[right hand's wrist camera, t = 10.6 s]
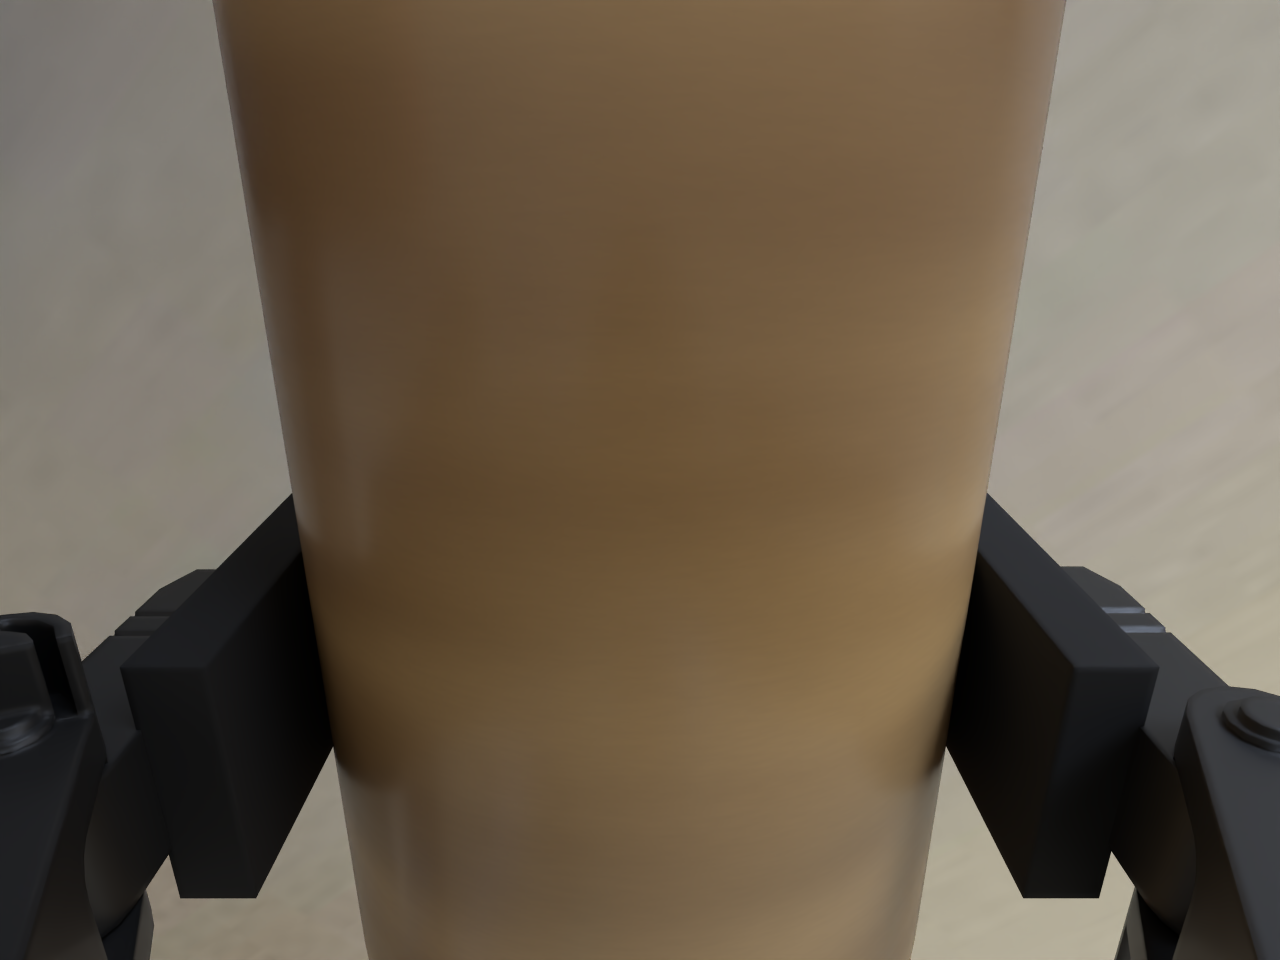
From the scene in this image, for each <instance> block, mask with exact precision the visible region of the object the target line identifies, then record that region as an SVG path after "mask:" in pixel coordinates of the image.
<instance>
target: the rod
mask: <svg viewBox="0 0 1280 960" xmlns="http://www.w3.org/2000/svg"><path fill="white" fill-rule="evenodd" d="M1065 5H1066V0H213V6H214V12H215V19H216V25H217V31H218V37H219V43H220V50H221V56H222V62H223V68H224V74H225V80H226V87H227V93H228V99H229V105H230V111H231V117H232V124H233V130H234V136H235V142H236V148H237V154H238V161H239V167H240V173H241V179H242V185H243V191H244V198H245V204H246V210H247V216H248V222H249V229H250V235H251V241H252V247H253V253H254V259H255V266H256V272H257V278H258V284H259V290H260V296H261V303H262V309H263V315H264V321H265V327H266V333H267V340H268V346H269V352H270V358H271V364H272V371H273V377H274V383H275V389H276V395H277V401H278V408H279V414H280V420H281V426H282V432H283V438H284V445H285V451H286V457H287V463H288V469H289V475H290V482H291V488H292V494H293V500H294V506H295V513H296V519H297V525H298V531H299V537H300V543H301V550H302V556H303V562H304V568H305V574H306V580H307V587H308V593H309V599H310V605H311V611H312V617H313V624H314V630H315V636H316V642H317V648H318V655H319V661H320V667H321V673H322V679H323V685H324V692H325V698H326V704H327V710H328V716H329V722H330V729H331V735H332V741H333V747H334V753H335V759H336V766H337V772H338V778H339V784H340V790H341V797H342V803H343V809H344V815H345V821H346V827H347V834H348V840H349V846H350V852H351V858H352V864H353V871H354V877H355V883H356V889H357V895H358V901H359V908H360V914H361V920H362V926H363V932H364V938H365V943H366V948H367V952H368V957H369V960H910V958H911V953H912V949H913V945H914V940H915V934H916V928H917V921H918V915H919V909H920V903H921V897H922V890H923V884H924V878H925V872H926V866H927V859H928V853H929V847H930V841H931V835H932V829H933V822H934V816H935V810H936V804H937V798H938V791H939V785H940V779H941V773H942V767H943V760H944V754H945V748H946V742H947V736H948V729H949V723H950V717H951V711H952V705H953V698H954V692H955V686H956V680H957V674H958V667H959V661H960V655H961V649H962V643H963V637H964V630H965V624H966V618H967V612H968V606H969V599H970V593H971V587H972V581H973V575H974V568H975V562H976V556H977V550H978V544H979V537H980V531H981V525H982V519H983V513H984V506H985V500H986V494H987V488H988V482H989V475H990V469H991V463H992V457H993V451H994V444H995V438H996V432H997V426H998V420H999V414H1000V407H1001V401H1002V395H1003V389H1004V383H1005V376H1006V370H1007V364H1008V358H1009V352H1010V345H1011V339H1012V333H1013V327H1014V321H1015V314H1016V308H1017V302H1018V296H1019V290H1020V283H1021V277H1022V271H1023V265H1024V259H1025V252H1026V246H1027V240H1028V234H1029V228H1030V221H1031V215H1032V209H1033V203H1034V197H1035V191H1036V184H1037V178H1038V172H1039V166H1040V160H1041V153H1042V147H1043V141H1044V135H1045V129H1046V122H1047V116H1048V110H1049V104H1050V98H1051V91H1052V85H1053V79H1054V73H1055V67H1056V60H1057V54H1058V48H1059V42H1060V36H1061V29H1062V23H1063V17H1064V11H1065Z"/></svg>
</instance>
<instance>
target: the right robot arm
mask: <svg viewBox="0 0 1280 960" xmlns="http://www.w3.org/2000/svg"><path fill="white" fill-rule="evenodd" d="M946 747H947V749H948V751H949V753H950V755H951V757H952V759H953V761H954V763H955V765H956V766H957V768H958V770H959V772H960V774H961V776H962V778H963V780H964V782H965V784H966V786H967V788H968V790H969V792H970V794H971V796H972V798H973V800H974V802H975V804H976V806H977V808H978V810H979V812H980V814H981V816H982V818H983V820H984V822H985V824H986V826H987V828H988V830H989V832H990V834H991V835H992V837H993V839H994V841H995V843H996V845H997V847H998V849H999V851H1000V853H1001V855H1002V857H1003V859H1004V861H1005V863H1006V865H1007V867H1008V869H1009V871H1010V873H1011V875H1012V877H1013V879H1014V881H1015V883H1016V885H1017V887H1018V889H1019V891H1020V893H1021V895H1022V897H1023V898H1099V896H1100V892H1101V888H1102V885H1103V881H1104V877H1105V873H1106V869H1107V866H1108V862H1109V858H1110V854H1111V851H1112V853H1113V854H1114V856H1115V857H1116V859H1117V860H1118V862H1119V863H1120V865H1121V866H1122V868H1123V869H1124V871H1125V872H1126V874H1127V875H1128V877H1129V878H1130V880H1131V881H1132V883H1133V884H1134V886H1135V888H1134V892H1133V895H1132V899H1131V902H1130V906H1129V909H1128V913H1127V916H1126V920H1125V924H1124V927H1123V931H1122V934H1121V938H1120V941H1119V945H1118V948H1117V952H1116V955H1115V959H1114V960H1280V696H1277V695H1274V694H1270V693H1266V692H1263V691H1259V690H1256V689H1248V688H1238V687H1229V686H1228V685H1227V684H1226V683H1225V682H1224V681H1223V680H1222V679H1220V678H1219V677H1218V676H1217V675H1216V674H1215V673H1214V672H1213V671H1212V670H1211V669H1210V668H1209V667H1207V666H1206V665H1205V664H1204V663H1203V662H1202V661H1201V660H1200V659H1199V658H1198V657H1197V656H1196V655H1194V654H1193V653H1192V652H1191V651H1190V650H1189V649H1188V648H1187V647H1186V646H1185V645H1184V644H1183V643H1181V642H1180V641H1179V640H1178V639H1177V638H1176V637H1175V636H1174V635H1173V634H1172V633H1166V631H1165V627H1164V626H1163V625H1162V624H1161V623H1160V622H1159V621H1158V620H1157V619H1155V618H1154V617H1153V616H1152V615H1151V614H1150V613H1145V608H1144V607H1142V606H1141V605H1140V604H1139V603H1138V602H1137V601H1136V600H1135V599H1134V598H1133V597H1132V596H1131V595H1129V594H1128V593H1127V592H1126V591H1125V590H1124V589H1123V588H1122V587H1121V586H1119V585H1117V584H1115V583H1114V582H1112V581H1110V580H1108V579H1106V578H1104V577H1102V576H1100V575H1098V574H1096V573H1094V572H1093V571H1091V570H1089V569H1087V568H1085V567H1060V566H1059V565H1058V564H1057V563H1056V562H1055V561H1054V560H1053V559H1052V558H1051V557H1050V556H1049V555H1048V554H1047V553H1046V552H1045V551H1044V550H1043V549H1042V548H1041V547H1040V546H1039V545H1038V544H1037V543H1036V542H1035V541H1034V540H1033V539H1032V538H1031V537H1030V536H1029V535H1028V534H1027V533H1026V532H1025V531H1024V530H1023V529H1022V528H1021V527H1020V526H1019V525H1018V524H1017V523H1016V522H1015V521H1014V520H1013V518H1012V517H1011V516H1010V515H1009V514H1008V513H1007V512H1006V511H1005V510H1004V509H1003V508H1002V507H1001V506H1000V505H999V504H998V503H997V502H996V501H995V500H994V499H993V498H992V497H991V496H990V495H989V494H988V493H987V494H986V500H985V506H984V513H983V519H982V525H981V531H980V537H979V544H978V550H977V556H976V562H975V568H974V575H973V581H972V587H971V593H970V599H969V606H968V612H967V618H966V624H965V630H964V637H963V643H962V649H961V655H960V661H959V667H958V674H957V680H956V686H955V692H954V698H953V705H952V711H951V717H950V723H949V729H948V736H947V742H946ZM332 748H333V741H332V735H331V729H330V722H329V716H328V710H327V704H326V698H325V692H324V685H323V679H322V673H321V667H320V661H319V655H318V648H317V642H316V636H315V630H314V624H313V617H312V611H311V605H310V599H309V593H308V587H307V580H306V574H305V568H304V562H303V556H302V550H301V543H300V537H299V531H298V525H297V519H296V513H295V506H294V500H293V494H291V495H290V496H289V497H288V498H287V499H286V500H285V501H284V502H283V503H282V504H281V505H280V506H279V507H278V508H277V509H276V510H275V511H274V512H273V513H272V514H271V515H270V516H269V517H268V518H267V519H266V520H265V521H264V522H263V523H262V524H261V525H260V526H259V527H258V528H257V529H256V530H255V531H254V532H253V533H252V534H251V535H250V536H249V537H248V538H247V539H246V540H245V541H244V542H243V543H242V544H241V545H240V546H239V547H238V548H237V549H236V550H235V551H234V552H233V553H232V554H231V555H230V556H229V557H228V558H227V559H226V560H225V561H224V562H223V563H222V564H221V565H220V566H219V567H218V568H217V569H197V570H195V571H193V572H191V573H189V574H187V575H185V576H184V577H182V578H180V579H178V580H176V581H174V582H172V583H170V584H168V585H166V586H165V587H163V588H161V589H159V590H158V591H157V592H156V593H155V594H154V595H153V596H152V597H151V598H150V599H149V600H147V601H146V602H145V603H144V604H143V605H142V606H141V607H140V608H139V609H138V610H137V611H136V612H135V616H130V617H129V618H128V619H127V620H126V621H125V622H124V623H123V624H122V625H121V626H119V627H118V628H117V629H116V630H115V635H114V636H109V637H108V638H107V639H106V640H104V641H103V642H102V643H101V644H100V645H99V646H98V647H97V648H96V649H95V650H94V651H93V652H92V653H90V654H89V655H88V656H87V657H86V658H85V659H84V660H83V661H81V658H80V654H79V651H78V647H77V644H76V640H75V637H74V633H73V629H72V626H71V623H70V622H68V621H66V620H65V619H63V618H61V617H60V616H58V615H54V614H45V613H36V612H29V613H18V614H7V615H0V960H150V952H151V945H152V937H153V930H154V922H153V916H152V910H151V906H150V902H149V899H148V895H147V892H146V888H147V886H148V885H149V883H150V882H151V880H152V879H153V877H154V876H155V874H156V873H157V871H158V870H159V868H160V867H161V865H162V864H163V862H164V861H165V859H166V858H167V856H168V855H169V857H170V861H171V864H172V868H173V872H174V876H175V880H176V883H177V887H178V891H179V895H180V898H256V897H257V895H258V893H259V891H260V889H261V888H262V886H263V884H264V882H265V880H266V878H267V876H268V874H269V872H270V870H271V868H272V866H273V864H274V862H275V860H276V858H277V856H278V854H279V852H280V850H281V848H282V846H283V844H284V842H285V840H286V838H287V836H288V834H289V832H290V830H291V828H292V826H293V824H294V822H295V821H296V819H297V817H298V815H299V813H300V811H301V809H302V807H303V805H304V803H305V801H306V799H307V797H308V795H309V793H310V791H311V789H312V787H313V785H314V783H315V781H316V779H317V777H318V775H319V773H320V771H321V769H322V767H323V765H324V763H325V761H326V759H327V757H328V755H329V753H330V752H331V750H332Z"/></svg>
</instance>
